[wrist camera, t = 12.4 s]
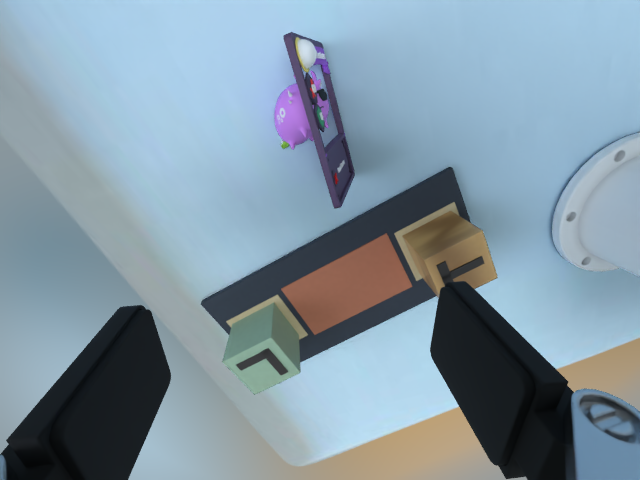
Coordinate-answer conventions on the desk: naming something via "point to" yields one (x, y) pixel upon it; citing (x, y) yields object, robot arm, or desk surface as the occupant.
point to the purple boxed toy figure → (313, 115)
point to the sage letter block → (263, 349)
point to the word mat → (346, 272)
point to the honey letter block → (450, 252)
